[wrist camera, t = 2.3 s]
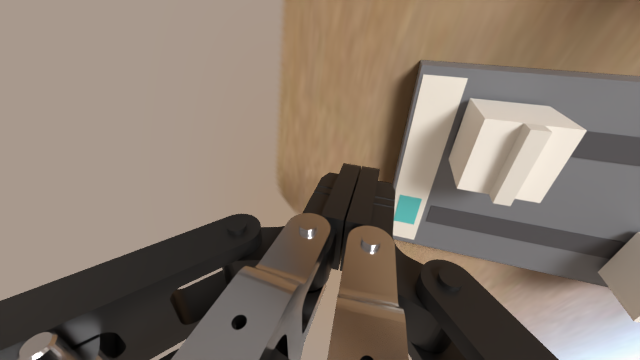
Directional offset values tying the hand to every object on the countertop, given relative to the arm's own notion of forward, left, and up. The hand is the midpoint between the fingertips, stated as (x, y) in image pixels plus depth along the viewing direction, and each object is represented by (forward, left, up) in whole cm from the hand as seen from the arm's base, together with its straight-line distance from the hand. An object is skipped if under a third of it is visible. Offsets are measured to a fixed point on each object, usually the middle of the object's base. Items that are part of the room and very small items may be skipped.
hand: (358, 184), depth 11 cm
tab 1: (0, +7, -8) cm, 10 cm away
